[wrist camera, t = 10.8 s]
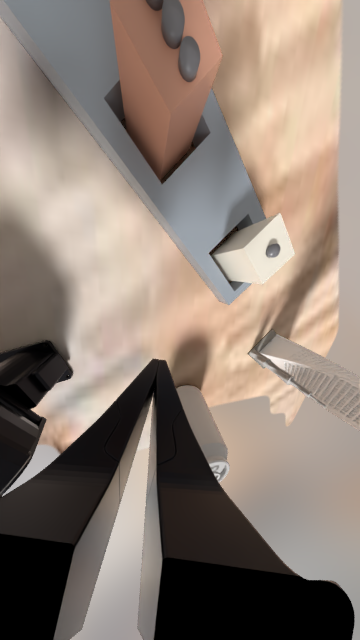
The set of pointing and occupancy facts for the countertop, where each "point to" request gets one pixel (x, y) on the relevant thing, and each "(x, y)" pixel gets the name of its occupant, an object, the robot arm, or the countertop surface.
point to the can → (205, 429)
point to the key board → (104, 125)
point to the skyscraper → (311, 376)
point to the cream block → (255, 251)
